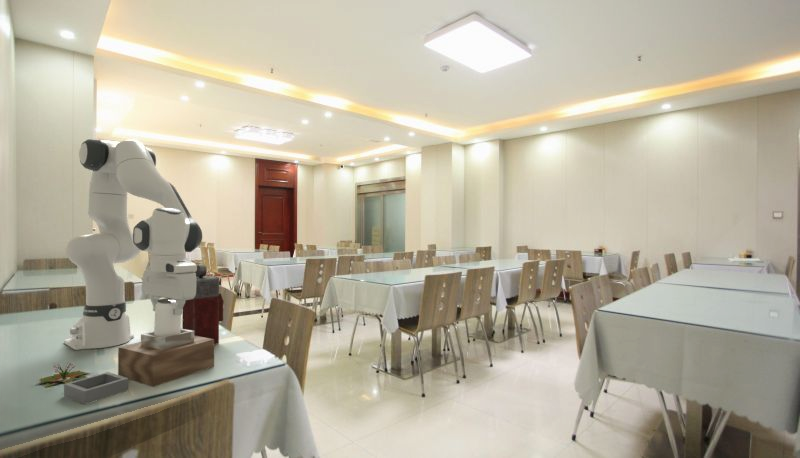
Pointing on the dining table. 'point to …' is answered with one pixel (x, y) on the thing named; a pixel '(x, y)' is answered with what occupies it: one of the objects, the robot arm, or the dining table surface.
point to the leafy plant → (63, 376)
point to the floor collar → (96, 387)
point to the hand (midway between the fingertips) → (167, 313)
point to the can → (166, 318)
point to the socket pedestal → (165, 357)
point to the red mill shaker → (204, 307)
